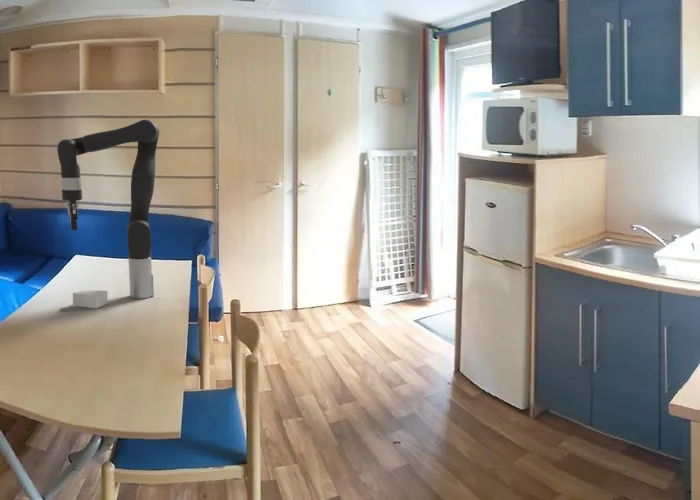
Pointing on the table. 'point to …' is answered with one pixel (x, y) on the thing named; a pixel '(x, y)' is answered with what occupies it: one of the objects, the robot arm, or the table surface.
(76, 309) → the charcoal mat
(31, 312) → the table surface
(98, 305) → the small box
